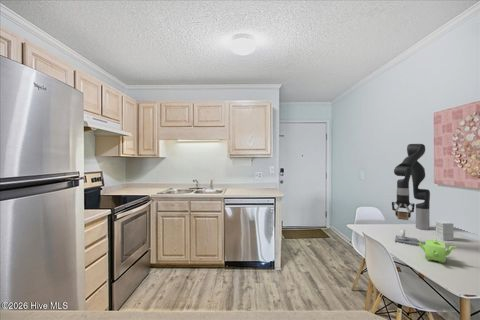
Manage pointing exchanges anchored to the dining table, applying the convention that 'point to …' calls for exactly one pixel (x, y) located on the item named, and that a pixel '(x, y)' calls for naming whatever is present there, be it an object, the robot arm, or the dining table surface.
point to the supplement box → (444, 230)
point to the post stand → (406, 239)
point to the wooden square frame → (402, 215)
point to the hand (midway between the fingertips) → (402, 216)
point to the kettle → (435, 250)
